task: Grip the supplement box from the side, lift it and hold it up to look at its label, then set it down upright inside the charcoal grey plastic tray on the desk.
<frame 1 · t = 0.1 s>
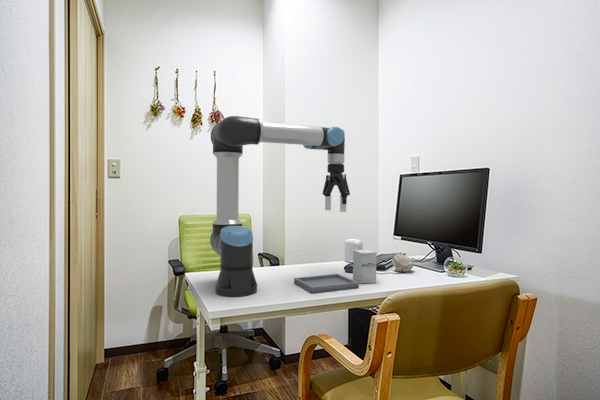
hand: (335, 211, 170), 28 cm above the table, tool pointing down, fingers open, 13 cm apart
supplement box: (364, 282, 155), on the table
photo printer: (353, 263, 195), on the table
fossil replica: (402, 271, 176), on the table
tray: (325, 285, 147), on the table
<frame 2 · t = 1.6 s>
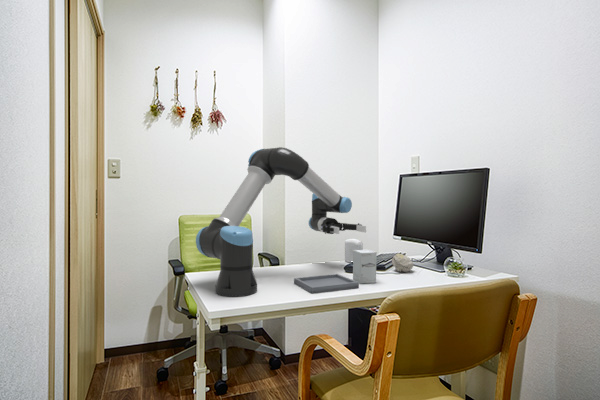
hand: (352, 230, 163), 20 cm above the table, tool horizontal, fingers open, 13 cm apart
nothing on the table moved.
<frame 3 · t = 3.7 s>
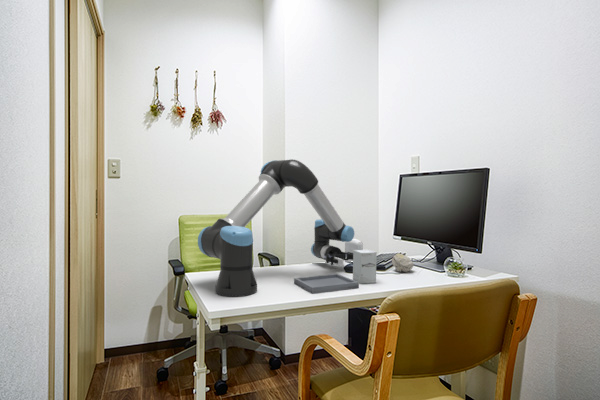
hand: (356, 261, 161), 7 cm above the table, tool horizontal, fingers open, 13 cm apart
nothing on the table moved.
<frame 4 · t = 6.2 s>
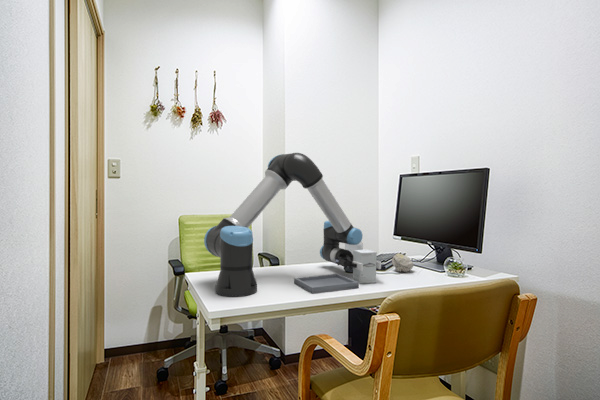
hand: (371, 266, 150), 7 cm above the table, tool horizontal, fingers closed on supplement box, 8 cm apart
supplement box: (364, 281, 155), on the table, touching gripper
everything else where it was.
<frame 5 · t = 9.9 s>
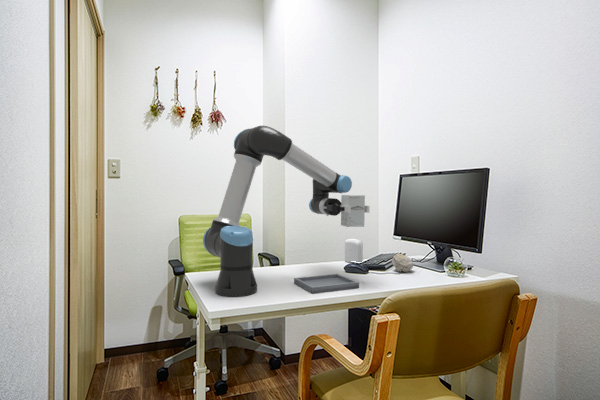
hand: (359, 209, 147), 30 cm above the table, tool horizontal, fingers closed on supplement box, 8 cm apart
supplement box: (352, 226, 152), point 23 cm above the table, touching gripper
everything else where it was.
when the fingers open (9 cm above the table, at t = 13.8 s): supplement box drops 1 cm, resting on tray.
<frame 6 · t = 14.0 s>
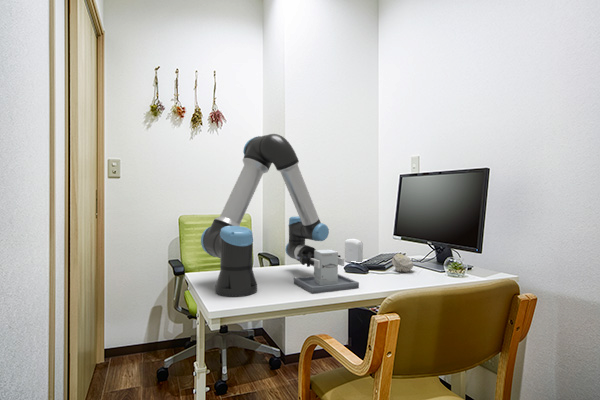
hand: (331, 263, 143), 9 cm above the table, tool horizontal, fingers open, 10 cm apart
supplement box: (325, 283, 147), point 1 cm above the table, touching tray
everything else where it was.
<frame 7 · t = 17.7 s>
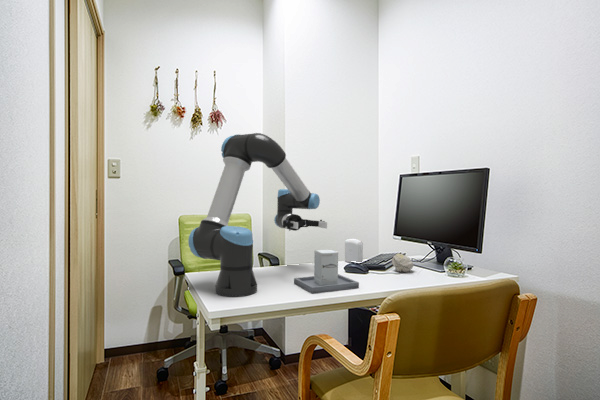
hand: (312, 225, 159), 22 cm above the table, tool horizontal, fingers open, 13 cm apart
nothing on the table moved.
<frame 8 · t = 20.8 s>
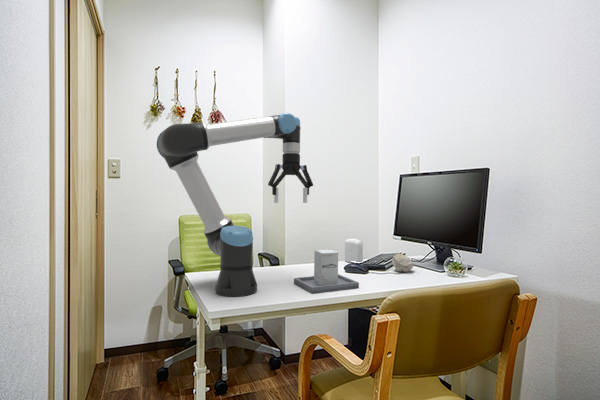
hand: (290, 202, 163), 32 cm above the table, tool pointing down, fingers open, 13 cm apart
nothing on the table moved.
at the end: supplement box inside the target area on the tray (0.0 cm from its centre), point 0.8 cm above the tray's base; supplement box tilted 0°; the gripper is holding nothing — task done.
